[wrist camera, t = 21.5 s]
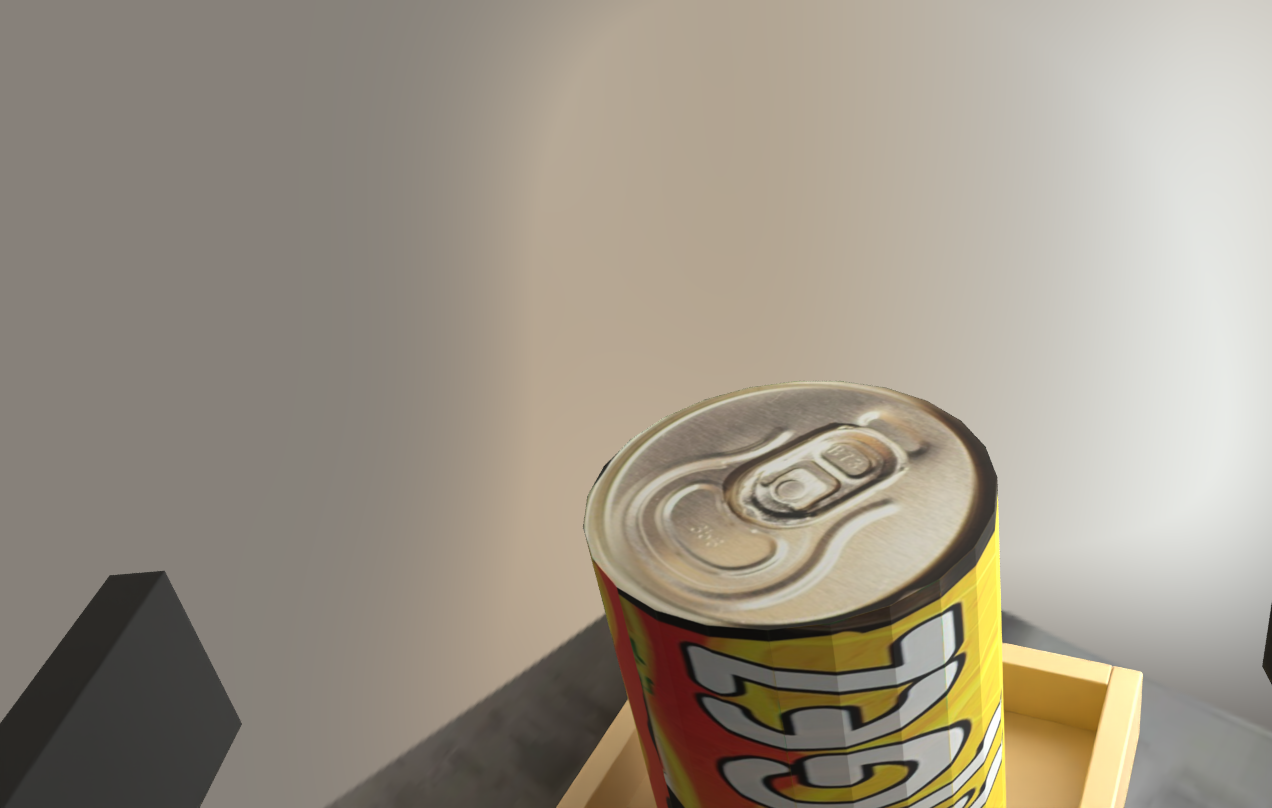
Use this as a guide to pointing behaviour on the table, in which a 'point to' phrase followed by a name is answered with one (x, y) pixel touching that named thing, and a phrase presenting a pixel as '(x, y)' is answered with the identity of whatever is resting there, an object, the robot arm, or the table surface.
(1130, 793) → the table surface
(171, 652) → the robot arm
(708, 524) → the beverage can
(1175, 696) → the table surface
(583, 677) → the table surface
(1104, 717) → the serving tray
